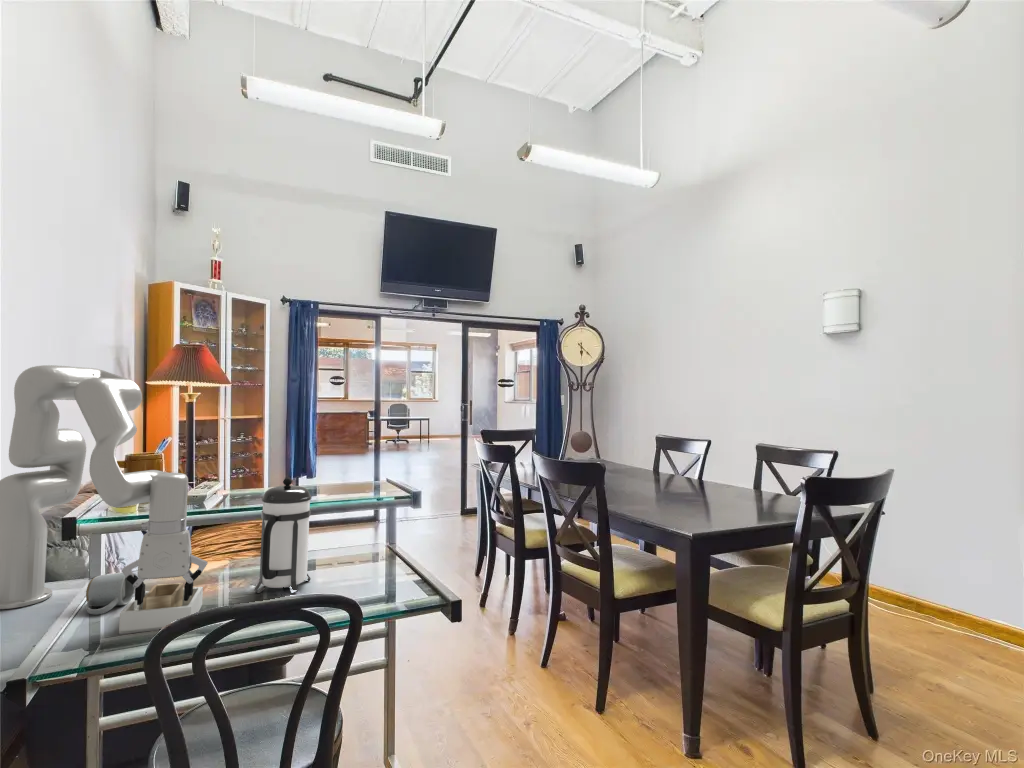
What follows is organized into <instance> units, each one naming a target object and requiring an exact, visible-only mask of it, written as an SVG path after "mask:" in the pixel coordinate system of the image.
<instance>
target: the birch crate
mask: <svg viewBox="0 0 1024 768" xmlns="http://www.w3.org/2000/svg"><path fill="white" fill-rule="evenodd" d="M183 588H184V582H175V583H163V584H154V585H153V586H152V588H151V589H150V590H148V591H149V592H148V593H147V594H146V596H145V597H144V598H143V610H148V609H159V608H170V607H181V606H182V604H183Z"/></svg>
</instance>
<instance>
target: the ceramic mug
mask: <svg viewBox="0 0 1024 768" xmlns="http://www.w3.org/2000/svg"><path fill="white" fill-rule="evenodd" d="M85 590H86V591H85V597H86V606H85V607H86V611H87V613H88V614H90V615H94V616H95V615H96V616H98V615H103V614H105V613H107V612H109V611H111V610H112V609H113V608H114V607H116V606H127V605H128V604H129V603H130V601H131V600H132V599H133V598H134V595H135V587H133V585H132V584H131V583H130V582H129V581H127V579H126V577H125V576H124V574H123V572H118V573H117V572H116V573H108V574H100V575H98V576H94V577H93V578H92V579H91V580H90V581H89V583H88V584H87V586H86V589H85ZM91 606H93V607H100V608H98V609H96V608H95V609H92V608H91Z"/></svg>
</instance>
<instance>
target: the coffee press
mask: <svg viewBox="0 0 1024 768" xmlns="http://www.w3.org/2000/svg"><path fill="white" fill-rule="evenodd" d="M292 482H293V481H292V479H291V478H290V477H285V478H284V479H283V481H282V483H283V485H281V486H280V485H279V486H274V487H270V488H269V489H267V490H266V491H265V492H264V494H263V496H262V497H261V502H262V510H261V517H260V518H261V519H262V520H261V539H260V561H259V563H260V565H259V580H258V583H257V585H256V586H255V587H254V592H256V593H257V594H261V593H262V592H263V591H264V590H265V589H266V588H273V589H283V587H284V588H288V587H290V586H291V587H292V589H293V590H297V591H298V586H297V585H299V584H302V583H304V582H305V583H309V582H311V579H312V578H311V577H310V575H309V573H308V562H309V561H308V557H309V556H308V555H309V535H310V534H309V532H310V531H309V530H310V516H311V508H310V505H311V500H312V496H313V495H312V494H311V493H310V491H309V490H308V489H307V488H306V487H303V486H299V485H291V484H292ZM306 580H308V582H306ZM261 585H262V587H261V588H260V586H261ZM259 588H260V589H259Z"/></svg>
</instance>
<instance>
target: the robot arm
mask: <svg viewBox="0 0 1024 768" xmlns="http://www.w3.org/2000/svg"><path fill="white" fill-rule="evenodd" d="M13 391H14V392H13V397H14V405H15V407H14V409H15V411H14V418H13V423H12V429H11V434H10V441H9V446H8V460H9V462H10V463H11V465H13V466H14V467H17V468H19V469H21V468H23V469H32V468H33V469H35V468H42V467H43V468H44V467H49V469H47V470H35V471H28V472H27V471H26V472H25V471H24V472H20V473H14V474H13V473H12V474H10V475H8V476H5V477H3V478H2V479H0V610H10V609H16V608H22V607H26V606H31V605H35V604H37V603H41V602H43V601H46V600H48V599H49V598H51V596H53V590H52V588H49V587H46V585H45V581H46V566H47V565H46V564H47V563H46V562H47V547H48V543H47V542H48V523H47V521H46V519H45V518H44V516H43V515H42V514H41V512H40V510H41V509H44V508H50V507H55V506H60V505H65V504H68V503H70V502H72V501H73V500H74V499H76V497H77V496H78V494H79V491H80V489H81V484H82V479H83V474H84V473H83V472H84V467H85V461H86V456H87V455H86V454H87V444H86V440H85V437H84V436H83V435H82V434H81V432H79V431H78V430H76V429H73V428H72V429H71V428H59V422H60V412H59V408H58V406H57V404H56V403H55V401H54V400H56V401H58V400H59V401H60V400H61V401H63V400H65V401H75V402H76V403H77V406H78V408H79V410H80V411H81V414H82V416H83V418H84V420H85V423H86V424H87V426H88V428H89V430H90V433H91V435H92V437H93V439H94V441H95V446H94V447H93V449H92V450H91V451H92V452H91V454H90V458H89V459H90V460H89V475H90V479H91V482H92V484H93V486H94V487H95V489H96V492H97V494H98V495H99V497H100V499H101V500H102V501H103V502H104V503H105V504H106V505H107V506H110V507H112V508H125V507H129V506H133V505H139V504H145V503H149V508H148V520H147V521H146V522H141V524H140V525H141V526H140V528H141V529H142V530H143V529H144V530H147V532H146V533H144V534H143V536H142V541H141V544H140V550H139V557H138V559H136V560H134V561H133V562H131V563H129V564H127V565H126V566H124V567H122V568H121V573H123V574H124V576H125V577H126V579H127V581H129V582H130V583H131V584H132V585H133V587H135V590H134V597H135V600H137V605H140V604H142V603H143V598H144V597H145V591H146V584H145V582H144V581H145V580H157V579H168V578H169V579H170V578H181V577H182V578H183V579H184V581H186V582H185V583H184V585H183V588H184V600H185V601H188V599H189V597H190V596H192V594H193V588H194V582H195V580H197V578H198V577H200V576H201V574H203V572H204V570H205V569H206V567H207V565H208V560H207V561H206V560H204V559H203V558H200V557H197V555H193V553H192V542H191V539H192V538H191V534H190V530H189V529H187V515H188V513H187V512H188V494H189V493H188V492H189V477H188V476H187V474H185V473H181V472H166V471H162V470H157V469H149V470H148V469H147V470H140V471H133V472H126V473H125V472H124V473H123V472H122V470H121V468H120V466H119V464H118V461H117V457H116V452H117V447H119V446H121V445H122V444H124V443H126V442H128V441H129V440H131V439H132V438H133V437H135V435H136V433H137V431H138V428H137V426H136V424H135V422H134V419H133V418H132V416H131V414H130V412H131V411H134V410H136V409H137V408H139V407H140V405H141V404H142V401H143V393H142V390H141V388H140V386H139V385H138V384H137V383H136V382H135V381H133V380H131V379H130V378H127V377H124V376H121V375H117V374H114V373H112V372H109V371H105V370H102V369H98V368H93V367H80V366H79V367H78V366H69V365H68V366H67V365H55V364H54V365H50V364H48V365H35V366H32V367H29V368H27V369H25V370H23V371H22V372H21V373H19V375H18V377H17V378H16V380H15V382H14V388H13ZM141 529H140V530H141ZM192 564H194V565H196V566H198V568H197V570H196V571H194V572H192V570H191V568H192ZM135 568H137V575H136V574H134V573H133V571H132V570H134V569H135Z"/></svg>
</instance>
